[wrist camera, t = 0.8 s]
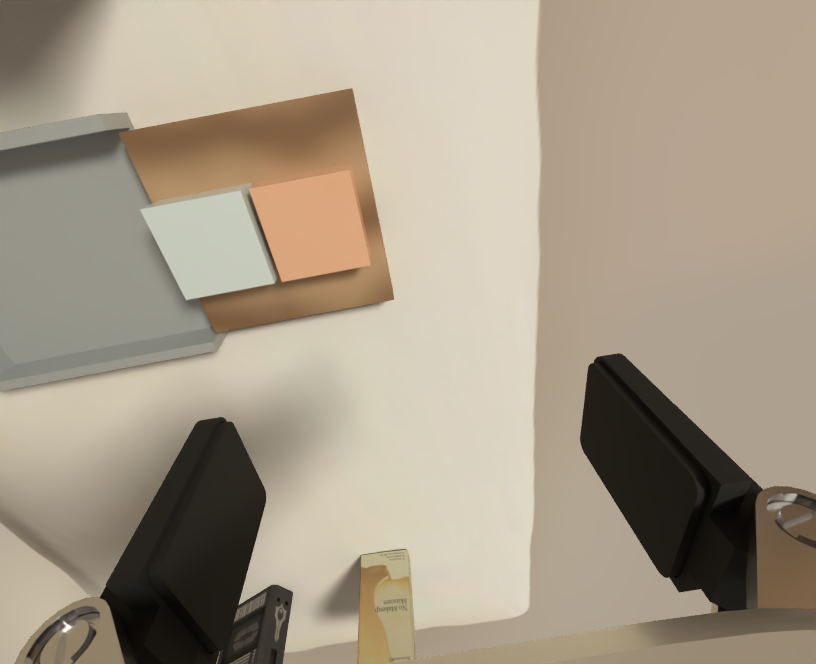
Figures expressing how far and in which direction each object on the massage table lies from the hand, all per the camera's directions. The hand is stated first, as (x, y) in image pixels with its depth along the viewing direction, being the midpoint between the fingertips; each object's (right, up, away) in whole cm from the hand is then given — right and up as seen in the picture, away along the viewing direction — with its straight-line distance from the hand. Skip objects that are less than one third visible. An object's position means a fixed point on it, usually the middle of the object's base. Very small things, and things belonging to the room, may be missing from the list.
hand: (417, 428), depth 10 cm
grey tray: (-25, +8, +18) cm, 32 cm away
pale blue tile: (-13, +9, +16) cm, 23 cm away
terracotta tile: (-6, +10, +16) cm, 20 cm away
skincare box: (-3, -27, +41) cm, 50 cm away
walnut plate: (-9, +11, +18) cm, 23 cm away
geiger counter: (-20, -35, +44) cm, 60 cm away
